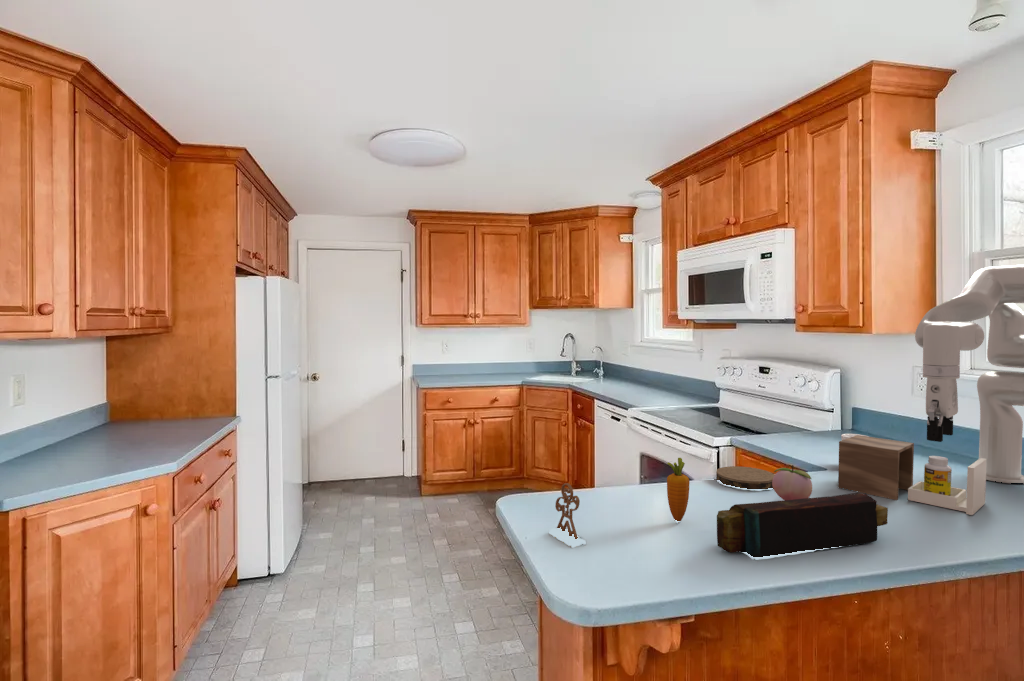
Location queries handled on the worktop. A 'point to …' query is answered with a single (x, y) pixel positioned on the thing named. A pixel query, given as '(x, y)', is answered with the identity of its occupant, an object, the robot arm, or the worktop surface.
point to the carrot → (677, 490)
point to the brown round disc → (745, 477)
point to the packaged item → (800, 524)
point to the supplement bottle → (937, 476)
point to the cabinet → (875, 465)
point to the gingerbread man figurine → (567, 513)
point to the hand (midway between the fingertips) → (940, 437)
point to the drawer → (957, 491)
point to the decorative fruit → (792, 484)
